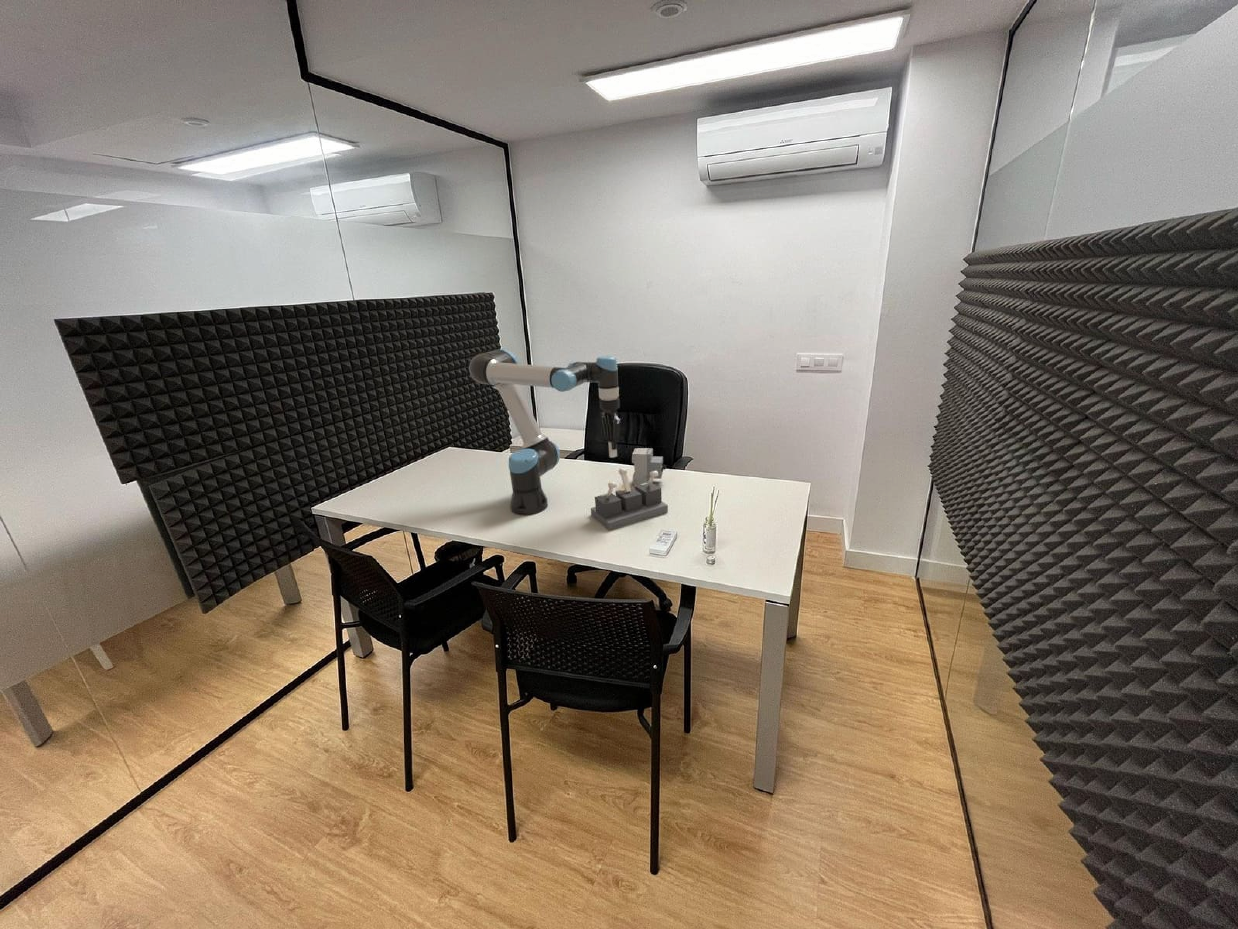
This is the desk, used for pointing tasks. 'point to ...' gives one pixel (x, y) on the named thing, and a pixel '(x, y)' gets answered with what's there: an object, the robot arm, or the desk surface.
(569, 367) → the robot arm
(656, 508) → the breaker board
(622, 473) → the handle
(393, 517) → the desk surface
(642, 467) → the circuit breaker
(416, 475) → the desk surface
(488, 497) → the desk surface
